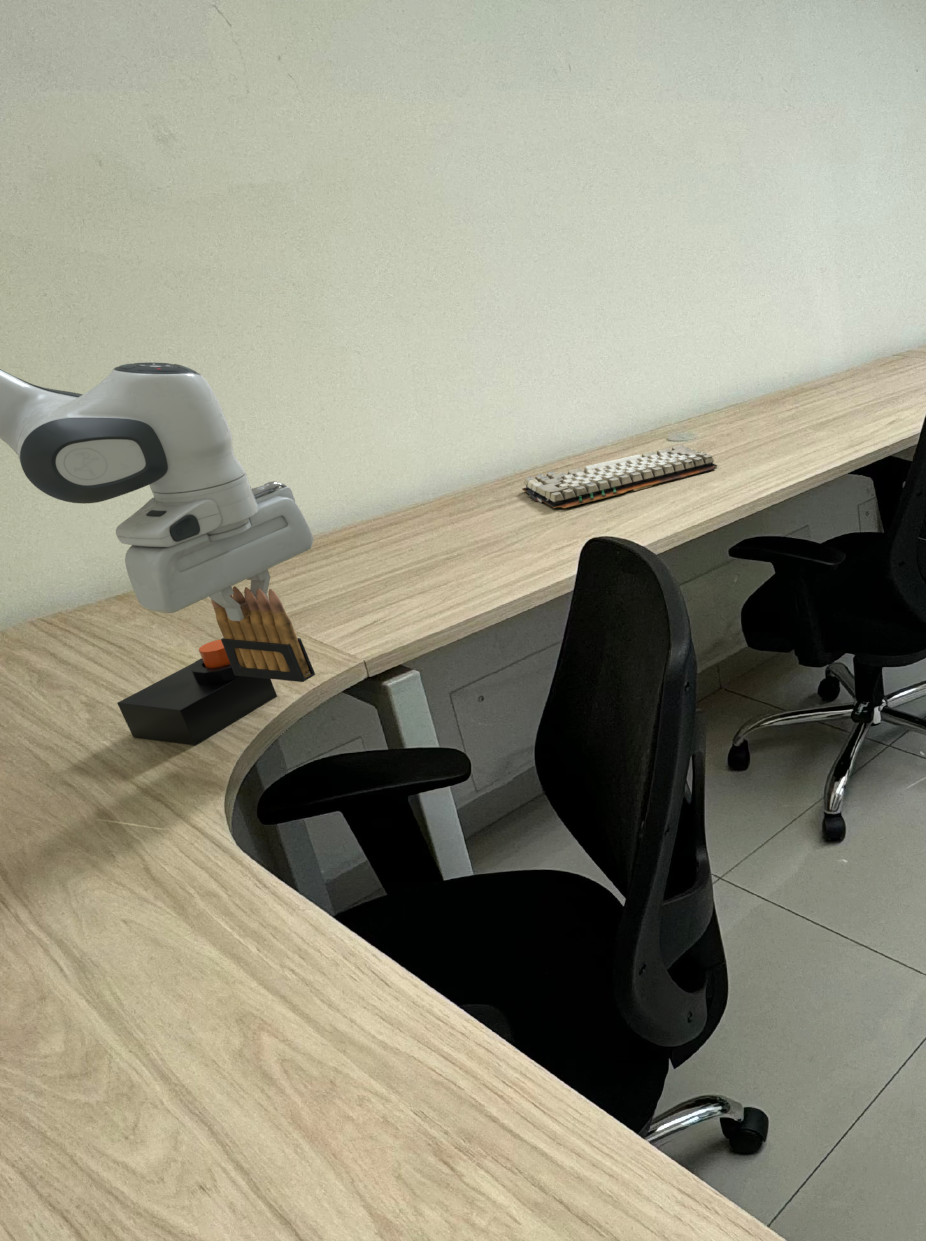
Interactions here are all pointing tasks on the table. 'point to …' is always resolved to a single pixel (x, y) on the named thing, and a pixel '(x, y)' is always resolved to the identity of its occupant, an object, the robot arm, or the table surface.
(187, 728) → the push button box
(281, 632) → the ammunition clip
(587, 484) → the mechanical keyboard
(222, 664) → the orange push button
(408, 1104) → the table surface
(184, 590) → the robot arm
